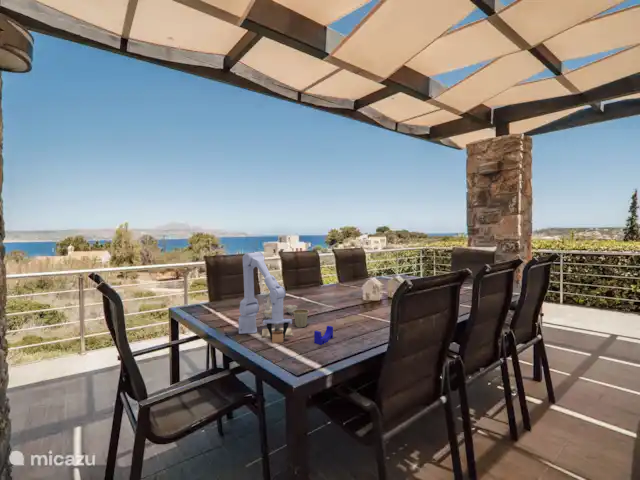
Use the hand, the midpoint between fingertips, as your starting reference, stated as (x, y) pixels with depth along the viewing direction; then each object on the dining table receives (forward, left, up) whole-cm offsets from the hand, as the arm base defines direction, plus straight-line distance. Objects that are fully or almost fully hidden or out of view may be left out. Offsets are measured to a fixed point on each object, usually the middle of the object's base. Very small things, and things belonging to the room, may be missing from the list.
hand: (277, 337), depth 167 cm
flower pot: (+14, +23, -2) cm, 27 cm away
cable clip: (+24, -3, -2) cm, 24 cm away
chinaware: (+1, +47, -2) cm, 47 cm away
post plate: (0, +11, -1) cm, 11 cm away
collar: (0, 0, -1) cm, 1 cm away
